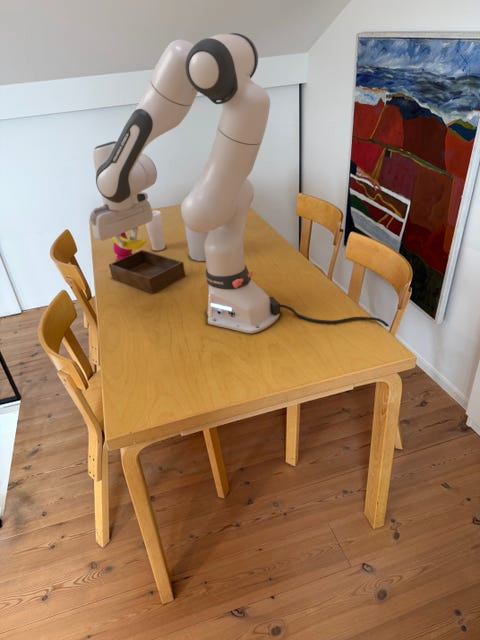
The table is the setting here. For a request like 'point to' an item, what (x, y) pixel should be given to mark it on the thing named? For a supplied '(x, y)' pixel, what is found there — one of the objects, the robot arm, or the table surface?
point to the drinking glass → (156, 231)
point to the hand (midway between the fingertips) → (128, 244)
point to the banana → (131, 243)
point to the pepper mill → (122, 249)
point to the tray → (147, 271)
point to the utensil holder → (196, 244)
